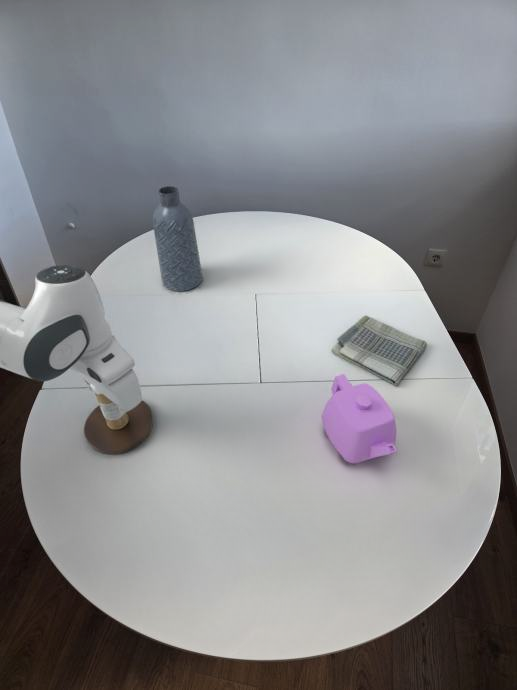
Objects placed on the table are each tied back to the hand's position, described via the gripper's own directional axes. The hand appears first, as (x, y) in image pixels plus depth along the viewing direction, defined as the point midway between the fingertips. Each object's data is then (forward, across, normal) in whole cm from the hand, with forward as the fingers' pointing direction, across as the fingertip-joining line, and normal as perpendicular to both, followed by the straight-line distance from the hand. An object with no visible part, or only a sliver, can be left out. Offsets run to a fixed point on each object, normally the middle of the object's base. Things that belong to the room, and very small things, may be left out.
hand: (108, 399), depth 85 cm
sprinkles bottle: (+8, 0, 0) cm, 8 cm away
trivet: (+9, 0, 0) cm, 9 cm away
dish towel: (+9, +32, +55) cm, 64 cm away
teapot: (+9, +41, +28) cm, 51 cm away
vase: (+9, -29, +46) cm, 55 cm away
